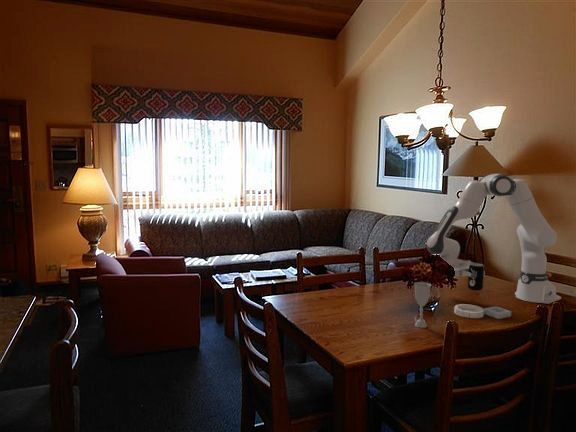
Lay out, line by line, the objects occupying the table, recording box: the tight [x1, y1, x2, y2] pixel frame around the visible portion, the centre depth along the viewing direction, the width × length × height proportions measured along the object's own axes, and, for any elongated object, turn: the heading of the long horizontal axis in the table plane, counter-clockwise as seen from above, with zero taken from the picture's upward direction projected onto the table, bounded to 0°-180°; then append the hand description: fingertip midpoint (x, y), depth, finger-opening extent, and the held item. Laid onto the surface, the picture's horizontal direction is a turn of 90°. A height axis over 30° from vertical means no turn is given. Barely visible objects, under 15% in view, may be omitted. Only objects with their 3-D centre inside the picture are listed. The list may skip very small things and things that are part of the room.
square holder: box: [483, 305, 512, 320], centre depth 202 cm, size 8×8×2 cm
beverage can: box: [467, 262, 485, 291], centre depth 210 cm, size 7×7×12 cm
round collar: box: [453, 303, 485, 319], centre depth 204 cm, size 12×12×2 cm
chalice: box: [413, 281, 432, 328], centre depth 188 cm, size 7×7×18 cm
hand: (477, 273), depth 209 cm, fingers closed on beverage can, 7 cm apart
